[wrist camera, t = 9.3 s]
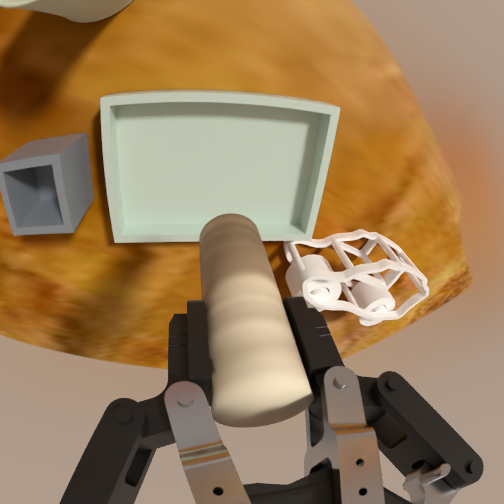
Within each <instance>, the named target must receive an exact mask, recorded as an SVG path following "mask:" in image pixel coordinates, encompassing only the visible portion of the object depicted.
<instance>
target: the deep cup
mask: <svg viewBox="0 0 504 504" xmlns="http://www.w3.org/2000/svg"><path fill="white" fill-rule="evenodd" d="M0 190H1V194H2V198H3V202H4V206H5V209H6V213H7V216H8V220H9V223H10V226H11V229H12V232H13V236H14V235H33V234H56V233H74V232H75V230H76V228H77V226H78V225H79V223H80V221H81V220H82V218H83V216H84V214H85V213H86V211H87V210H88V208H89V206H90V205H91V203H92V202H93V200H94V191H93V184H92V177H91V168H90V159H89V148H88V135H87V132H86V133H78V134H71V135H64V136H57V137H51V138H45V139H40V140H34V141H29V142H28V143H26V144H25V145H23V146H21V147H20V148H18V149H17V150H15V151H14V152H12V153H11V154H10V155H8V156H7V157H5V158H4V159H2V160H1V161H0Z"/></svg>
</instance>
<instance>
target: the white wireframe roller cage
mask: <svg viewBox="0 0 504 504" xmlns="http://www.w3.org/2000/svg"><path fill="white" fill-rule="evenodd" d="M362 237H365V238H368V239H369V240H368V241H367V243H366V244H365V246H364V247H363V248H362V249H361V250H358V249H356V248H354V247H352V246H349V245H347V244H345V243H343V242H341V241H350V240H357V239H360V238H362ZM377 242H378V244H379V245H380V246H381V247H382V249H383V250H384V251H385V252H386V254H387V255H388V256H389V257H390V259H391V260H392V261H391V260H388V259H382V260H380V261H378V262H374V263H372V261H371V260H370V259H369V257H368V256H367V255H368V254H369V253H370V251H371V250H372V249H373V247H374V246H375V245H376V243H377ZM294 244H305V245H308V246H312V247H317V248H324V247H328V246H330V245H332V246H333V248H334V249H335V251H336V252H337V254H338V256H339V257H340V259H341V260H342V262H343V264H344V265H345V267H346V268H347V270H345V271H342V272H333V270H332V268H331V266H330V265H329V263H328V261H327V260H326V258H324V257H322V256H320V255H315V254H313V255H306V256H303V257H301V258H300V256H299V254H298V252H297V249H296V247H295V245H294ZM387 244H388V245H389V246H391V247H393V248H394V249H395V251H396V254H397V255H398V257H399V258H400V259H399V258H398V257H397V256H396V254H395V253H394V252H393V251H392V249H391V248H390V247H389V246H388V245H387ZM344 250H345V251H347V252H350V253H352V254H354V255H356V256H358V257H361V258H362V259H363V261H364V262H365V264H361V265H357V266H353V264H352V263H351V261H350V260H349V258H348V256H347V255H346V253H345V252H344ZM284 251H285V255H286V257H287V260H288V261H289V262H290V264H291V265H290V266H289V268H288V270H287V272H286V277H285V278H286V282H287V285H288V287H289V290H290V293H291V295H292V297H298V296H303V297H304V299H305V301H306V304H307V306H308V308H316V309H317V310H318V311H319V312H320V311H323V310H345V311H350V312H352V313H354V314H356V316H357V317H358V319H359V321H360V323H361V324H362V325H364V326H371V325H375V324H377V323H379V322H381V321H383V320H392V319H399V318H401V317H402V316H403V315H404V314H405V313H406V312H407V311H408V310H409V309H411V308H412V307H413V306H414V305H416V304H417V303H418V302H420V301H422V300H423V299H425V298H426V297H427V296H428V294H429V288H428V287H427V285H426V284H427V281H428V280H427V279H426V277H425V276H424V275H423V274H422V273H421V272H420V271H419V270H418V269H417V267H416V266H415V265H414V264H413V263H412V261H411V260H410V259H409V258H408V257H407V255H406V254H405V253H404V252H403V251H402V249H401V248H400V247H399V246H398V245H396V244H395V243H394V242H392V241H391V240H389V239H388V238H386V237H384V236H382V235H380V234H378V233H377V232H376V233H375V232H371V233H370V232H367V231H364V230H363V229H359V230H356V231H354V232H349V233H338V234H334V235H331V236H328V237H326V238H324V239H319V240H317V239H311V241H284ZM386 269H391V270H389V271H388V272H387V273H386V274H384V275H383V276H382V275H381V274H380V273H379V272H382V271H384V270H386ZM404 271H405V272H406V274H407V275H408V276H409V277H410V279H411V280H412V281H413V283H414V284H415V285H416V287H417V288H418V289H419V291H420V292H418V293H417V294H415V295H413V296H412V297H411V298H410V299H408V300H407V301H406V302H405V303H403V304H402V305H401V306H400V307H399V308H398V309H397V310H396V311H393V309H394V307H395V301H394V299H393V297H392V296H391V294H390V293H389V291H388V289H389V288H390V287H391V286H392V285H393V284H394V282H395V281H396V280H397V279H398V278H399V276H400V275H401V274H402V273H403V272H404ZM371 273H372V274H373V275H374V277H372V276H370V275H367V274H371ZM416 277H417V278H418V279H417V278H416ZM352 279H356V280H358V281H361V282H354V281H351V280H352ZM347 286H349V287H352V288H353V289H352V290H351V292H350V290H349V288H348V287H347ZM341 288H342V289H341ZM342 290H343V292H344V294H345V296H346V298H347V300H348V301H349V302H346V301H341V300H337V299H338V298H339V296H340V294H341V291H342Z"/></svg>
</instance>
